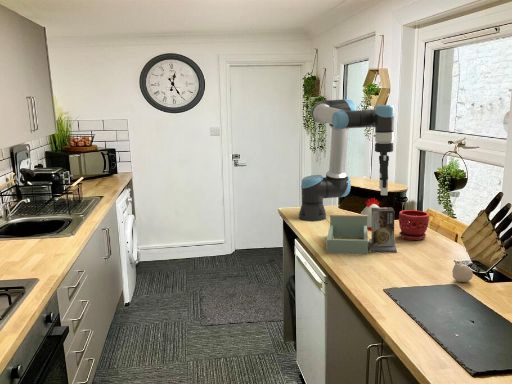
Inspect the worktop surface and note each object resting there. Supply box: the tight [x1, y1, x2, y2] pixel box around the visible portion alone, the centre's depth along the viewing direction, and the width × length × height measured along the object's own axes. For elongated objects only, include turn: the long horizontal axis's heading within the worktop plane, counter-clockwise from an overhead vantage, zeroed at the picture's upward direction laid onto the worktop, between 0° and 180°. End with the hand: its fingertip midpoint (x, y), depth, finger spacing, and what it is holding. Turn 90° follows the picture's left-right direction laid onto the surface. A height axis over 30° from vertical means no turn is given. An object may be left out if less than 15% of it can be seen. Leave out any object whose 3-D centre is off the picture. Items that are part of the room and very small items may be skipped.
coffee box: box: [370, 206, 395, 246], centre depth 198 cm, size 9×6×16 cm
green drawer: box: [326, 213, 369, 256], centre depth 204 cm, size 25×17×11 cm
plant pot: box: [398, 209, 430, 241], centre depth 210 cm, size 13×13×12 cm
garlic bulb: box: [451, 259, 474, 283], centre depth 159 cm, size 7×6×8 cm
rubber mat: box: [368, 238, 398, 254], centre depth 200 cm, size 15×11×1 cm
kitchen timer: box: [360, 197, 381, 231], centre depth 230 cm, size 14×14×15 cm
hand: (383, 191), depth 195 cm, fingers open, 13 cm apart
